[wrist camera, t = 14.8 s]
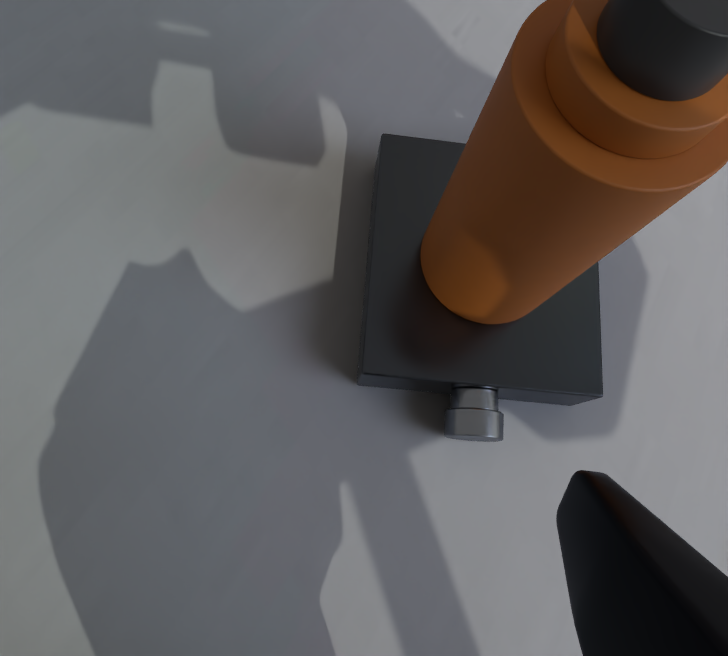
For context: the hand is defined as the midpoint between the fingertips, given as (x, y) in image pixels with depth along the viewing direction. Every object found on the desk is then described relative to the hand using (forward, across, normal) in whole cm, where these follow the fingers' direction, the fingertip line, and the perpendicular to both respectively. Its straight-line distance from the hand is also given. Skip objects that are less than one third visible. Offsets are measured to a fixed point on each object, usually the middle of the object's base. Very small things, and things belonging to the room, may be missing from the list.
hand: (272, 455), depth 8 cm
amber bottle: (+14, -6, +2) cm, 15 cm away
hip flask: (+16, -6, +3) cm, 17 cm away
